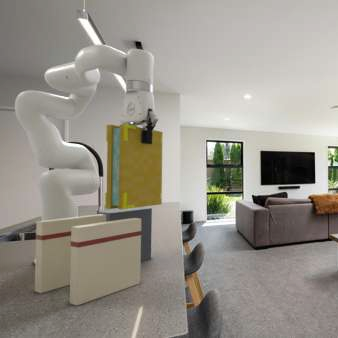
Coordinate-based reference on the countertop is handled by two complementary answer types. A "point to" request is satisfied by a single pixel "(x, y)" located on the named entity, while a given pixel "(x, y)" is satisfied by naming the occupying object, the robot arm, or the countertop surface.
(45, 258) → the cream book
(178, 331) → the countertop surface
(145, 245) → the grey book
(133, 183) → the book
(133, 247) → the cream panel
